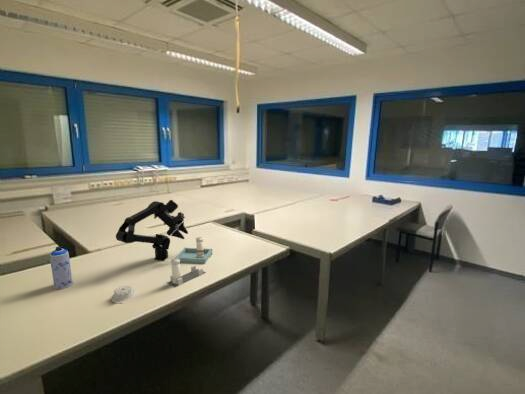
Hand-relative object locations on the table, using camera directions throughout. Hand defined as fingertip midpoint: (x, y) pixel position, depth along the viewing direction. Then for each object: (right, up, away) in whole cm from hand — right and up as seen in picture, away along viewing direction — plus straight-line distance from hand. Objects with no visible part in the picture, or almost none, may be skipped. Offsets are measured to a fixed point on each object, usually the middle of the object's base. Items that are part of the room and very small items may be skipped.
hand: (185, 235), depth 172 cm
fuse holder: (+8, -19, -25) cm, 32 cm away
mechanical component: (-17, -23, -42) cm, 51 cm away
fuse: (+4, -19, -30) cm, 36 cm away
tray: (+5, -14, 0) cm, 15 cm away
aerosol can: (-52, -20, -33) cm, 64 cm away
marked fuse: (+9, -13, 0) cm, 16 cm away
